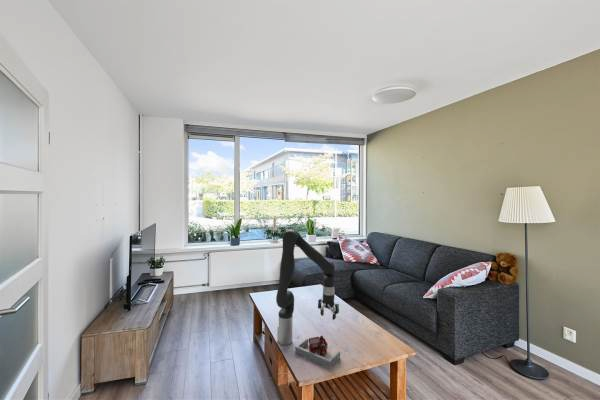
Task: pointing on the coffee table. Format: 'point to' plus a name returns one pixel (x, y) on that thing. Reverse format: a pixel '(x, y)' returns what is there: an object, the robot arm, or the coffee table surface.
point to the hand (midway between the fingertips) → (328, 317)
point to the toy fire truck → (318, 345)
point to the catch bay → (315, 357)
